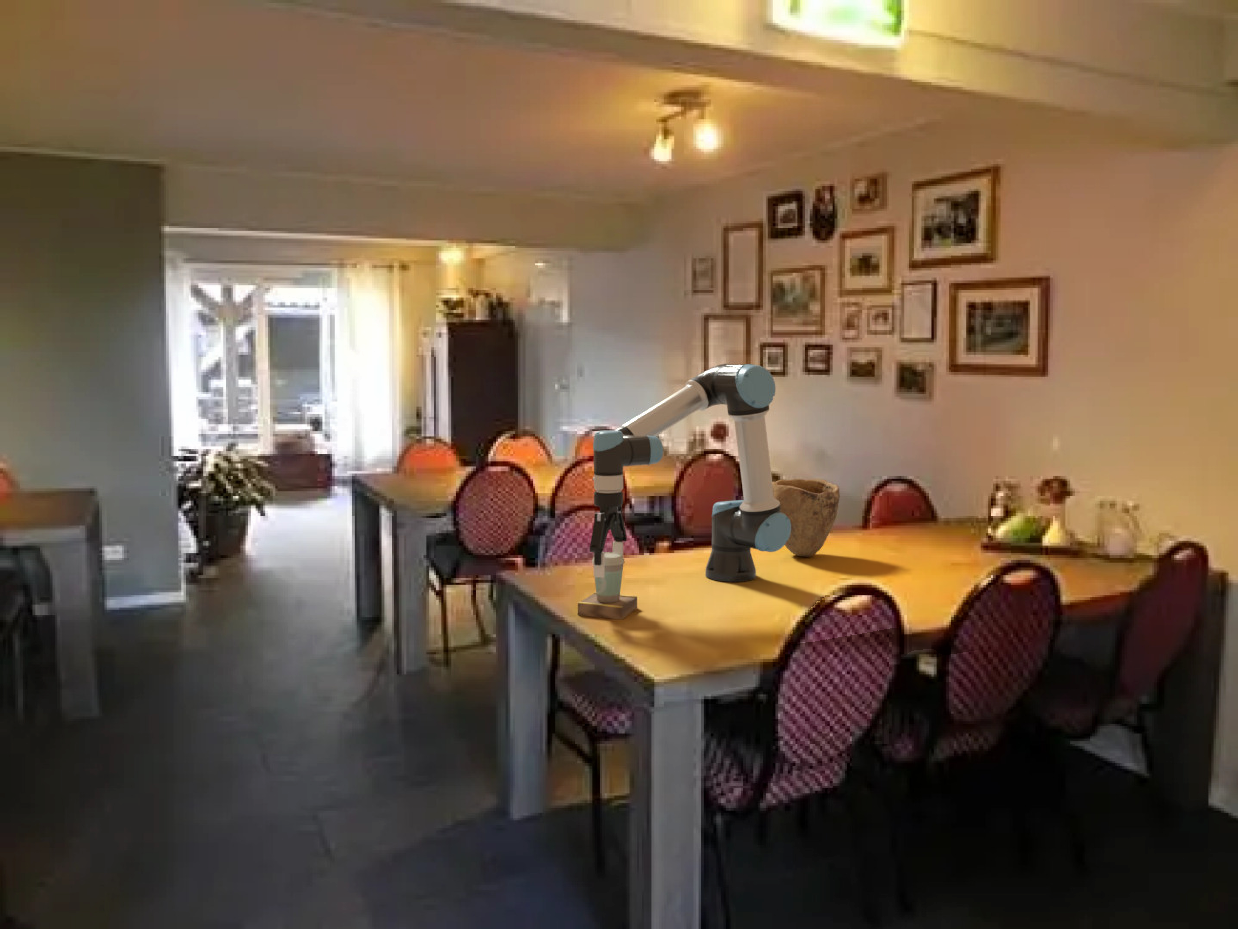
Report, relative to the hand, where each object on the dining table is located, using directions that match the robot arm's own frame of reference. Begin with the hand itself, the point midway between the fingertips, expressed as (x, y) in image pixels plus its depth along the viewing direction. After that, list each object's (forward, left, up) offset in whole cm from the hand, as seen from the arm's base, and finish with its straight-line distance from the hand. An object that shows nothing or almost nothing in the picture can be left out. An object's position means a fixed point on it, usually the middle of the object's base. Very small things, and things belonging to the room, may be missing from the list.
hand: (608, 571), depth 261 cm
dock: (0, 0, -11) cm, 11 cm away
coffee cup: (0, 0, -8) cm, 8 cm away
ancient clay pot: (-35, -88, -11) cm, 95 cm away
